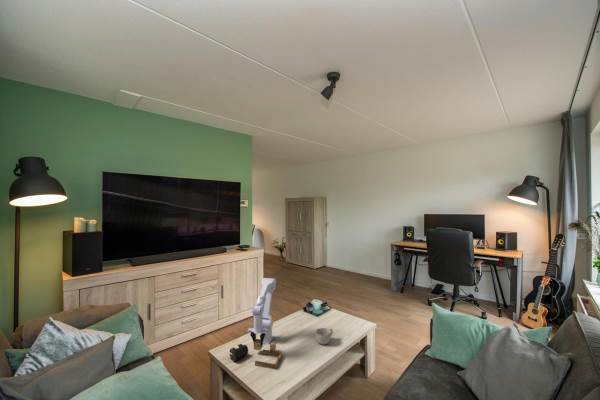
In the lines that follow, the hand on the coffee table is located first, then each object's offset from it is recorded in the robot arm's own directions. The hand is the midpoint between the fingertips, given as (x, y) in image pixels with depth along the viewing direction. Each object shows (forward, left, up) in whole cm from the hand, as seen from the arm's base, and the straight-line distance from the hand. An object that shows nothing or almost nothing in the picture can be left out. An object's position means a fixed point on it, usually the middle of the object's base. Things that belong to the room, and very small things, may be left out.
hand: (258, 343), depth 171 cm
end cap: (+8, -10, -7) cm, 14 cm away
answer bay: (+6, +10, -6) cm, 13 cm away
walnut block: (0, 0, -3) cm, 3 cm away
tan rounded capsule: (-4, +9, -6) cm, 12 cm away
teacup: (-25, +41, -6) cm, 48 cm away
